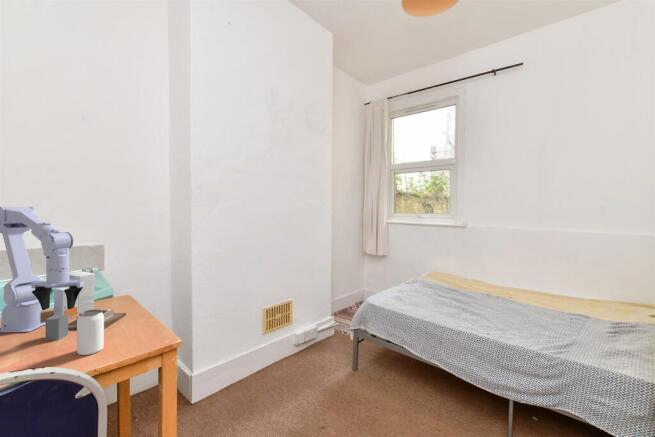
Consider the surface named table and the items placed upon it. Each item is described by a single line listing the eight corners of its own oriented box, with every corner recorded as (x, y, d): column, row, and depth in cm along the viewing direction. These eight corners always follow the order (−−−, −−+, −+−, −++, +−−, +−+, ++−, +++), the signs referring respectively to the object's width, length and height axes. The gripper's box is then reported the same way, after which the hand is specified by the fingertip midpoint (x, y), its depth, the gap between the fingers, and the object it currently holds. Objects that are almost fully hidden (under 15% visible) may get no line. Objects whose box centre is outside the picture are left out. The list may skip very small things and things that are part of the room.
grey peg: (45, 340, 96) (45, 319, 96) (55, 334, 100) (55, 314, 100) (58, 339, 97) (58, 319, 97) (68, 334, 101) (68, 314, 101)
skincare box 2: (64, 310, 122) (64, 274, 122) (81, 305, 129) (82, 270, 128) (78, 313, 120) (78, 276, 119) (95, 308, 126) (95, 272, 126)
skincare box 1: (62, 320, 112) (62, 290, 112) (53, 319, 113) (53, 289, 113) (78, 315, 118) (78, 286, 118) (70, 314, 119) (70, 285, 118)
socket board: (61, 329, 104) (61, 320, 104) (89, 315, 118) (89, 306, 118) (103, 329, 106) (103, 319, 106) (125, 315, 120) (126, 306, 120)
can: (87, 345, 94) (87, 308, 93) (108, 345, 94) (108, 309, 94) (71, 356, 87) (71, 316, 87) (94, 355, 88) (94, 316, 87)
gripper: (22, 271, 93) (23, 313, 93) (73, 270, 95) (73, 312, 95) (41, 267, 100) (41, 306, 100) (87, 266, 102) (88, 305, 102)
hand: (58, 308), depth 98 cm, fingers open, 7 cm apart
